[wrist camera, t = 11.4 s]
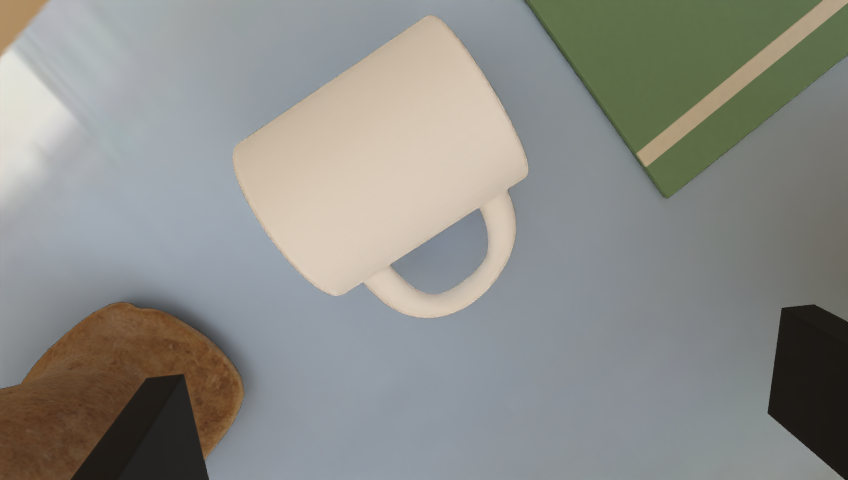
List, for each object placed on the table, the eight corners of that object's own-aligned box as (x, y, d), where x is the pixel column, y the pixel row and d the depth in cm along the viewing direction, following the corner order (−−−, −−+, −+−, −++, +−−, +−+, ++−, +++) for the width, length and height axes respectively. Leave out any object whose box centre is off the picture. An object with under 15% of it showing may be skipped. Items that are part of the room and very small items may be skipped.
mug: (251, 136, 27) (207, 162, 19) (421, 20, 26) (444, 1, 18) (386, 316, 30) (394, 398, 23) (538, 220, 30) (598, 272, 22)
